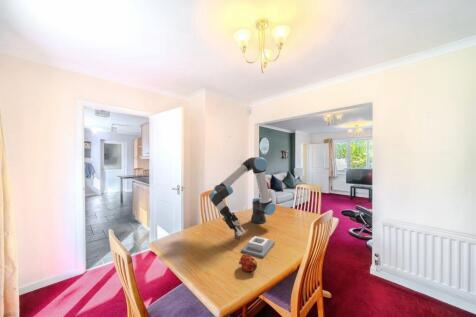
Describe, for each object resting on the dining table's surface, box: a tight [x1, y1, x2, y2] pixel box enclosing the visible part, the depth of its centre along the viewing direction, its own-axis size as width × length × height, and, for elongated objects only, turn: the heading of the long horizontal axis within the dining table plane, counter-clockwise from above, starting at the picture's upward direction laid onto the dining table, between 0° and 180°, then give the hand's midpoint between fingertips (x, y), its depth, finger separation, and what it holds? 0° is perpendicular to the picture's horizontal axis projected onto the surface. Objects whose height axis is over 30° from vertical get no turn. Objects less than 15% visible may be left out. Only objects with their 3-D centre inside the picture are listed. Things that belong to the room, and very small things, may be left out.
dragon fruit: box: [238, 253, 258, 273], centre depth 105 cm, size 8×8×12 cm
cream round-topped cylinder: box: [233, 219, 241, 241], centre depth 138 cm, size 4×4×13 cm
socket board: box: [240, 235, 276, 259], centre depth 130 cm, size 22×16×5 cm
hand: (241, 233), depth 136 cm, fingers closed on cream round-topped cylinder, 4 cm apart
